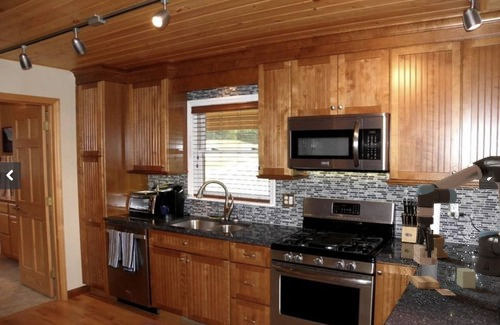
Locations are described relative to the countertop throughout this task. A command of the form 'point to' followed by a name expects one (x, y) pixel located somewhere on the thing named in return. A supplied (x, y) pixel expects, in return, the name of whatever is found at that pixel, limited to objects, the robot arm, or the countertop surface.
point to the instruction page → (445, 292)
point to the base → (424, 282)
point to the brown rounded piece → (440, 245)
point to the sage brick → (466, 278)
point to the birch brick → (423, 255)
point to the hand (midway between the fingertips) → (424, 261)
